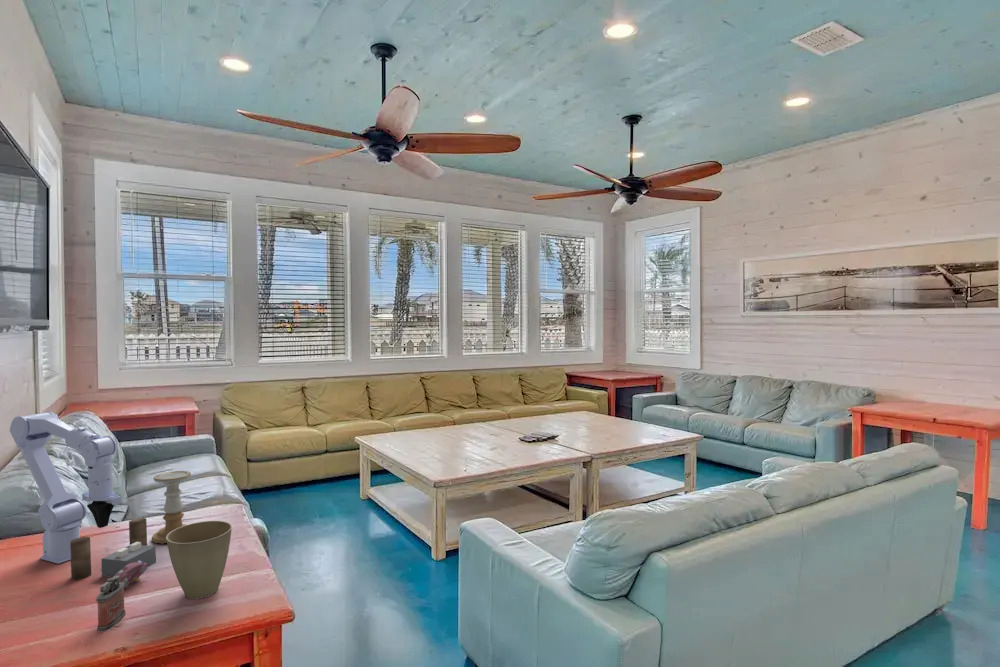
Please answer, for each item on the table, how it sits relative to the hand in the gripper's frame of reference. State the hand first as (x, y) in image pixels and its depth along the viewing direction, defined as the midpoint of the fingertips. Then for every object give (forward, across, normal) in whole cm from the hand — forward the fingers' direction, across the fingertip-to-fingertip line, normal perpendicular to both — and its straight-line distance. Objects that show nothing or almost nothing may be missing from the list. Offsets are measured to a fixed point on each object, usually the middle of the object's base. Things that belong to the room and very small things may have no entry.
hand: (102, 526), depth 164 cm
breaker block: (+11, +11, 0) cm, 16 cm away
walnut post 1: (+10, +3, -8) cm, 14 cm away
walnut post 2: (+10, +3, +8) cm, 14 cm away
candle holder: (+11, +1, +21) cm, 24 cm away
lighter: (+11, +35, -20) cm, 42 cm away
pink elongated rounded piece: (+11, +20, -7) cm, 24 cm away
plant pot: (+12, +42, -2) cm, 44 cm away
